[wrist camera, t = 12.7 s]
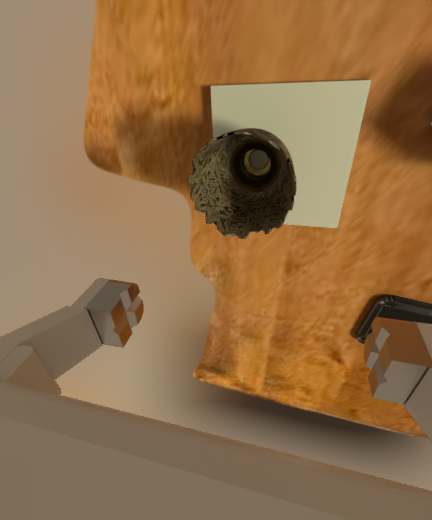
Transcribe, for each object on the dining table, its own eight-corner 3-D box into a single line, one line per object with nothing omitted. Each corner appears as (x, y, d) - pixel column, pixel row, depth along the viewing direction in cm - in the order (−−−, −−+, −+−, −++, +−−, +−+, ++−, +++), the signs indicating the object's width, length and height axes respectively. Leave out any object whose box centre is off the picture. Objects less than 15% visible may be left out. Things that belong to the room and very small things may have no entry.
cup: (230, 204, 28) (205, 244, 22) (208, 127, 25) (171, 149, 18) (307, 190, 25) (303, 233, 19) (295, 101, 22) (286, 117, 16)
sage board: (213, 85, 24) (210, 85, 23) (368, 79, 21) (371, 80, 20) (218, 215, 30) (216, 219, 30) (336, 223, 28) (337, 228, 27)
